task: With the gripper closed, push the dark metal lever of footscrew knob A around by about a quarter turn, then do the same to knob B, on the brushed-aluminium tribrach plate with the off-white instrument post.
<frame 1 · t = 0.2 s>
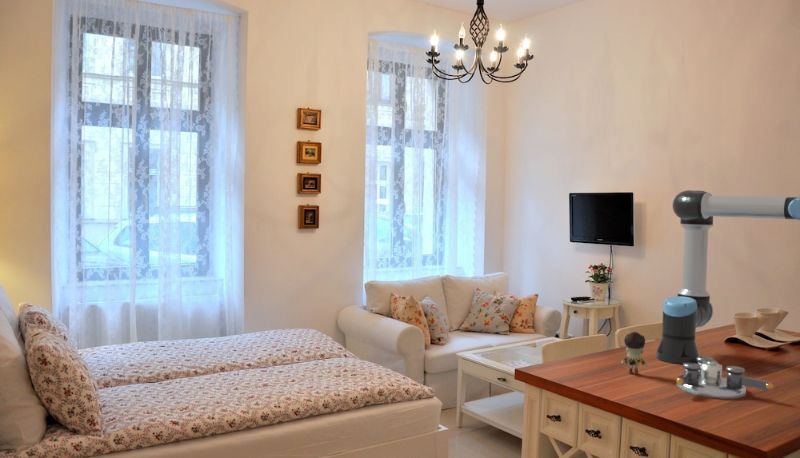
toy: (633, 374, 220), on the table
tribrach plate: (710, 389, 203), on the table
knob B: (686, 376, 199), point 5 cm above the table, hinge at 0.0°
knob C: (708, 364, 213), point 5 cm above the table, hinge at 0.0°
knob A: (749, 380, 195), point 5 cm above the table, hinge at 0.0°
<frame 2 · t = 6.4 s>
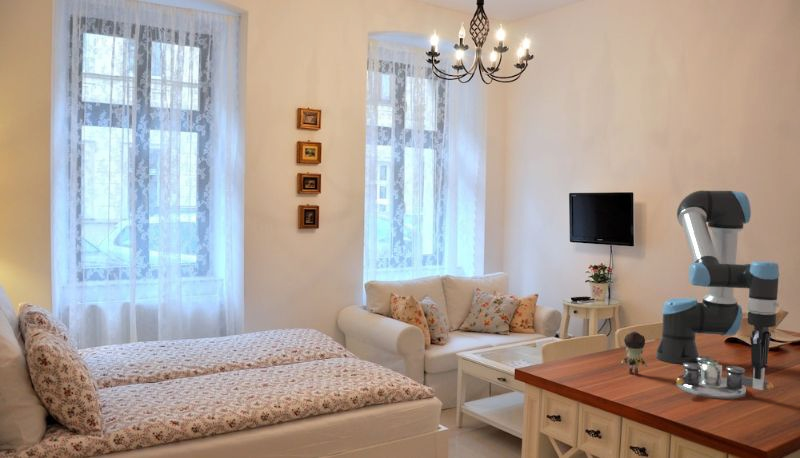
hand: (758, 388, 193), 4 cm above the table, fingers closed
knob A: (749, 380, 195), point 5 cm above the table, hinge at 0.8°, touching gripper
everything else where it was.
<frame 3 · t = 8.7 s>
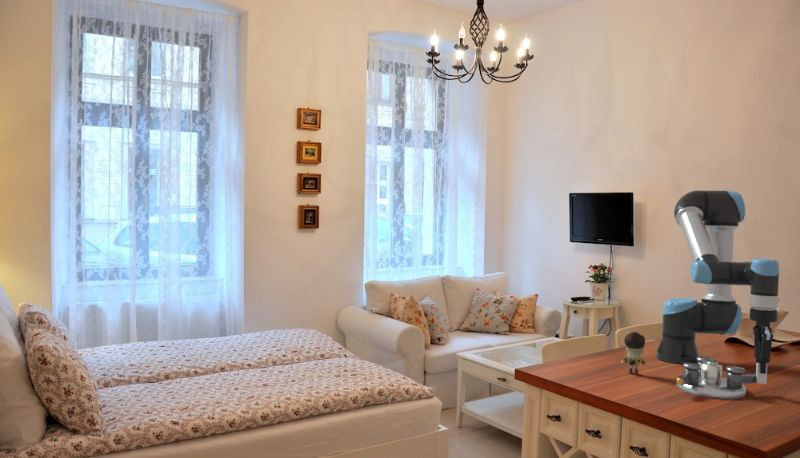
hand: (761, 382, 198), 4 cm above the table, fingers closed
knob A: (746, 377, 199), point 5 cm above the table, hinge at 54.0°, touching gripper
everything else where it was.
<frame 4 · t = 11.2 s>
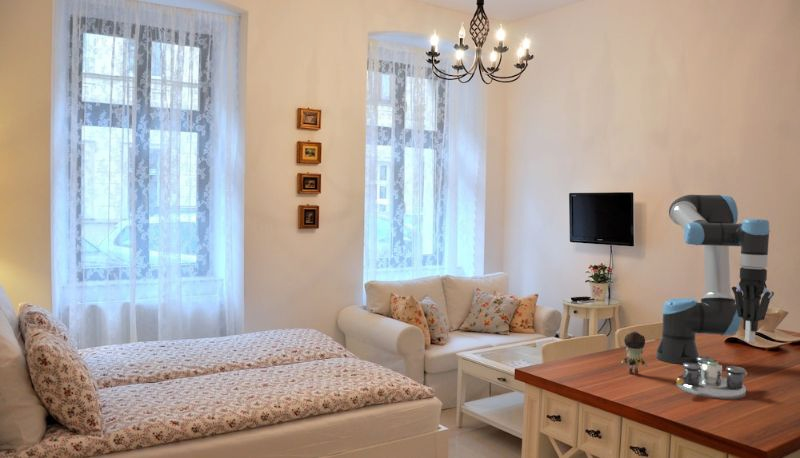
hand: (749, 340, 201), 16 cm above the table, fingers closed
knob A: (738, 375, 201), point 5 cm above the table, hinge at 91.2°
everything else where it was.
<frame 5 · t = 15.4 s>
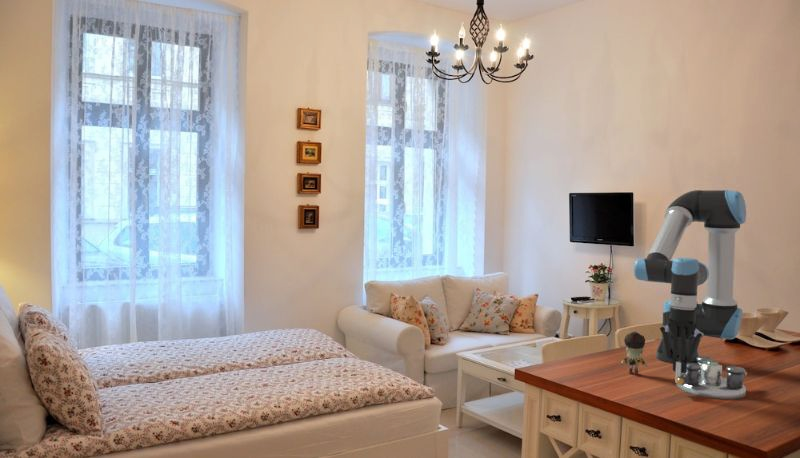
hand: (679, 382, 197), 4 cm above the table, fingers closed
knob B: (687, 376, 199), point 5 cm above the table, hinge at 0.3°, touching gripper
everything else where it was.
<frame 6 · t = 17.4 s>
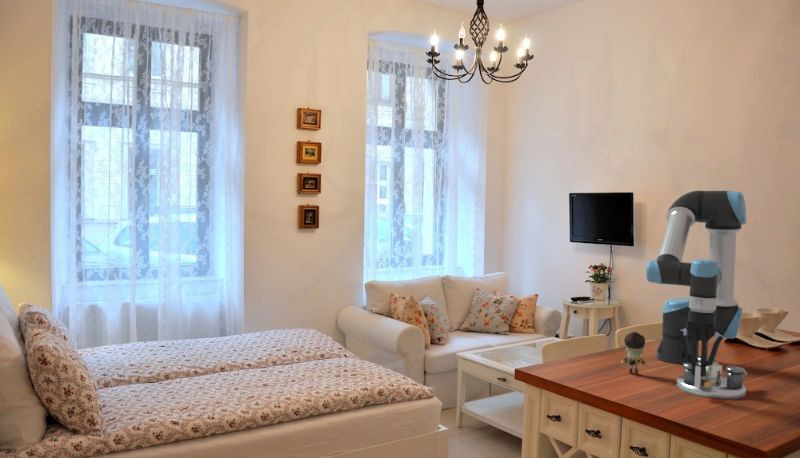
hand: (697, 386, 194), 4 cm above the table, fingers closed
knob B: (698, 377, 197), point 5 cm above the table, hinge at 46.7°, touching gripper
everything else where it was.
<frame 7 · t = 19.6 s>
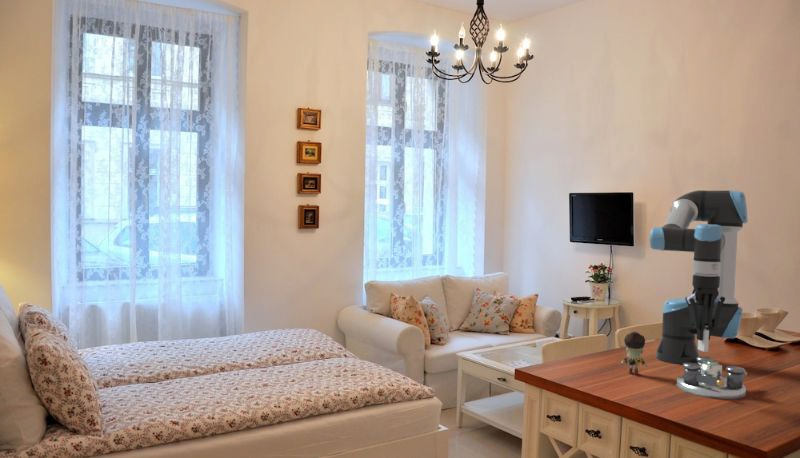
hand: (702, 350, 195), 14 cm above the table, fingers closed
knob B: (703, 376, 198), point 5 cm above the table, hinge at 75.6°
everything else where it was.
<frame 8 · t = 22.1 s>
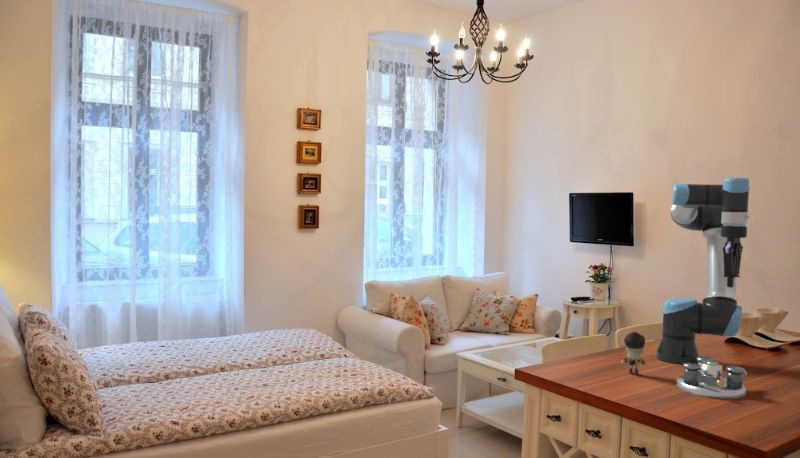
hand: (730, 296, 207), 29 cm above the table, fingers closed
nothing on the table moved.
at the end: knob A at +91° (first picture: +0°); knob B at +76° (first picture: +0°) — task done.
